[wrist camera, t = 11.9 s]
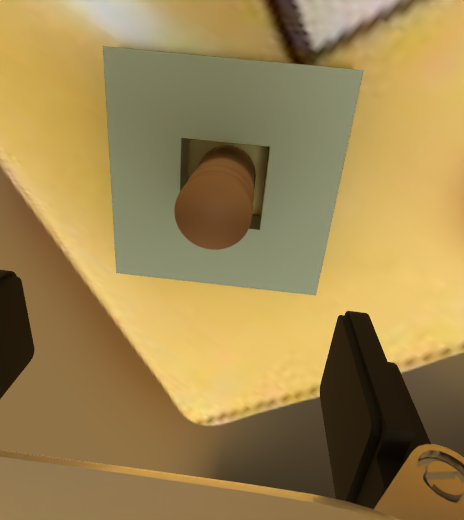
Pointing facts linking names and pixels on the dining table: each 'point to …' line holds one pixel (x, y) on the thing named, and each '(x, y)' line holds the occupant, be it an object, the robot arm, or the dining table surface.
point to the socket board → (232, 131)
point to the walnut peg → (217, 199)
